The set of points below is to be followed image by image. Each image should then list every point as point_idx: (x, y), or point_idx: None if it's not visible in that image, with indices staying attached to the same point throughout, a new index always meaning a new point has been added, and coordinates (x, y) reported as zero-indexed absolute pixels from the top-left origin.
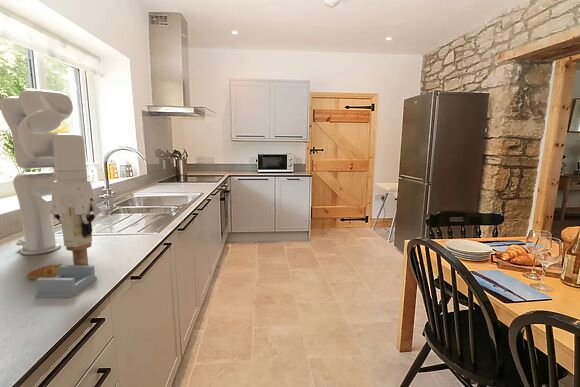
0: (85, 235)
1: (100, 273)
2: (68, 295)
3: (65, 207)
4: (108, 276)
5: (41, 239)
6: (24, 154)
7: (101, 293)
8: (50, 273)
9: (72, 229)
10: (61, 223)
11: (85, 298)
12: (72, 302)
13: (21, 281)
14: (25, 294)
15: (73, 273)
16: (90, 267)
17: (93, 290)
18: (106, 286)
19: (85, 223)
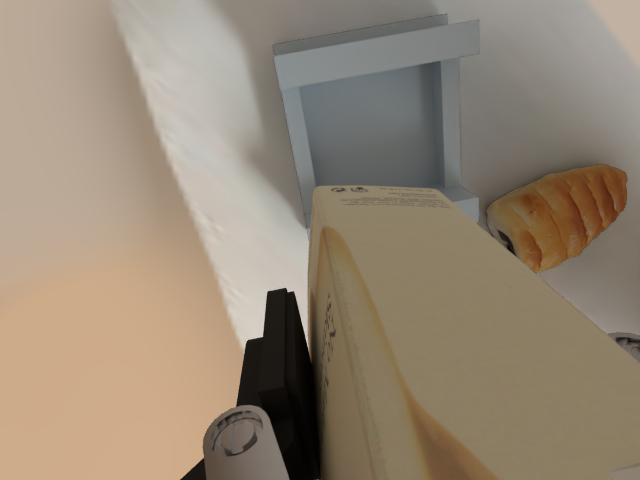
0: (268, 298)
1: None
2: (284, 43)
3: None
4: (276, 262)
5: None
6: None
7: (167, 112)
8: (521, 198)
9: (359, 262)
10: (609, 335)
11: (199, 52)
12: (226, 3)
13: (619, 146)
14: (510, 36)
15: None
16: (309, 228)
17: (230, 132)
18: (204, 178)
19: (247, 410)
